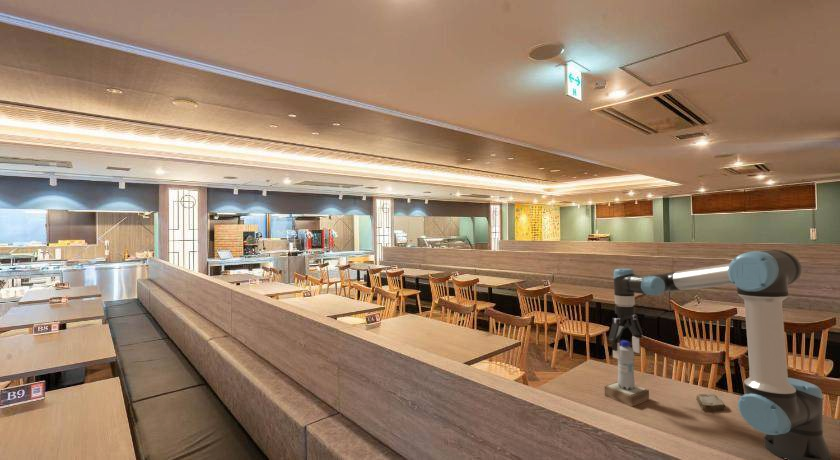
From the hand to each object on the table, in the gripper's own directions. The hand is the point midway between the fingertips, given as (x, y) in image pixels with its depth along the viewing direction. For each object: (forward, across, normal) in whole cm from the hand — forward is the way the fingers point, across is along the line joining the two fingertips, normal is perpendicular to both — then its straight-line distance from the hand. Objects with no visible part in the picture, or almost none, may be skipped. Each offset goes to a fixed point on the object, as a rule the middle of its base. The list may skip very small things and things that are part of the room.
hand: (626, 355), depth 160 cm
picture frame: (+18, 0, -1) cm, 18 cm away
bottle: (+14, 0, -1) cm, 14 cm away
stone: (+19, -22, +20) cm, 36 cm away
